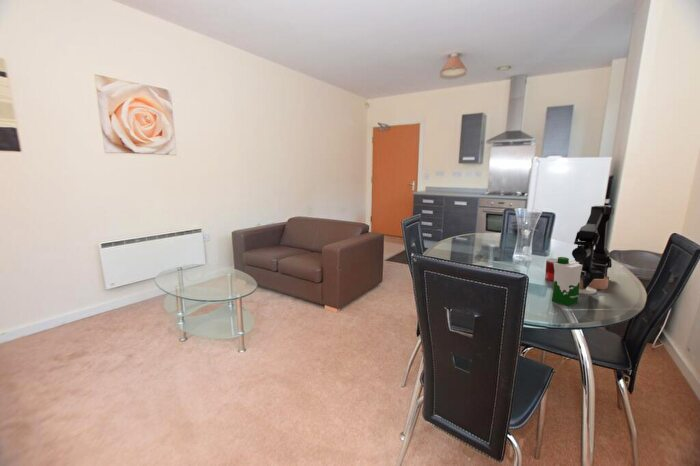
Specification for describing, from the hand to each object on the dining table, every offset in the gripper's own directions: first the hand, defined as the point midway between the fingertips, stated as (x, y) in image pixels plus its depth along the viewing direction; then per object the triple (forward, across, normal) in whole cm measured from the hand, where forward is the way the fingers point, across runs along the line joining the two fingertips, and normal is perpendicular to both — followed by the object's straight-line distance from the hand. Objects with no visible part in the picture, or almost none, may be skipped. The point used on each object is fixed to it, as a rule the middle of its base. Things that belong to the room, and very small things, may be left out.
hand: (582, 287), depth 148 cm
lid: (+2, 0, 0) cm, 2 cm away
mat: (+2, 0, 0) cm, 2 cm away
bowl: (+2, -6, +10) cm, 12 cm away
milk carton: (+2, +13, -16) cm, 21 cm away
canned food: (+2, -16, -4) cm, 17 cm away
